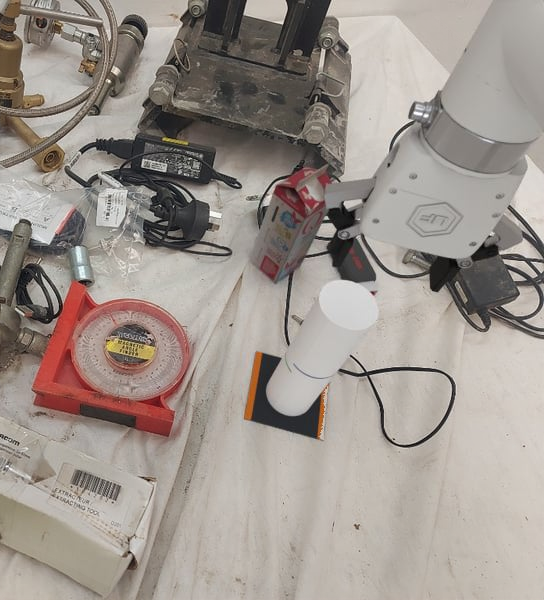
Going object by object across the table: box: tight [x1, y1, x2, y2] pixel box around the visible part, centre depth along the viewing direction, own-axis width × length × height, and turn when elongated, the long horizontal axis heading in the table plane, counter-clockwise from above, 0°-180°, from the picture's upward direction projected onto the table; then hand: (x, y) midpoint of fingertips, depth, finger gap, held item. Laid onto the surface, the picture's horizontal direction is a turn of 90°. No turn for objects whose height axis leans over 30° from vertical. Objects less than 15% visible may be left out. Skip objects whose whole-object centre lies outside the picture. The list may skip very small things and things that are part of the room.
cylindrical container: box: [266, 279, 380, 416], centre depth 79 cm, size 7×7×25 cm
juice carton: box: [248, 163, 333, 285], centre depth 94 cm, size 7×7×22 cm
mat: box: [243, 350, 330, 440], centre depth 89 cm, size 12×12×1 cm
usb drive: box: [326, 236, 380, 297], centre depth 103 cm, size 5×12×3 cm, turn 12°
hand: (384, 268), depth 58 cm, fingers open, 9 cm apart
